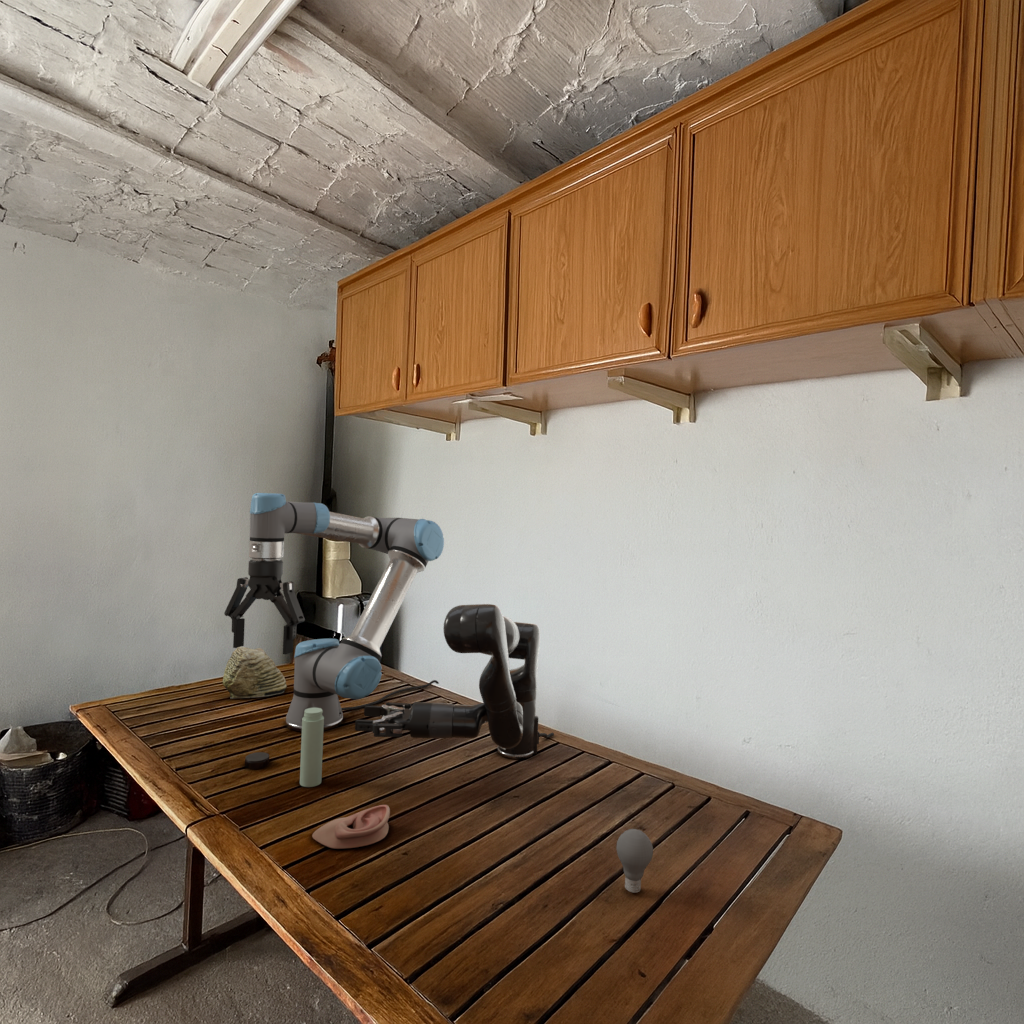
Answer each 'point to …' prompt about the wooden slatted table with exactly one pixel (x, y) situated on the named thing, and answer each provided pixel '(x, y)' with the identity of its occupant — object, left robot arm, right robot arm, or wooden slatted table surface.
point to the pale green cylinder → (311, 747)
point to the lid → (257, 760)
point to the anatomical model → (355, 829)
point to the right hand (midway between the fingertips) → (360, 717)
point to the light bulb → (634, 857)
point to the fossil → (252, 674)
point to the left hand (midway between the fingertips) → (262, 650)
